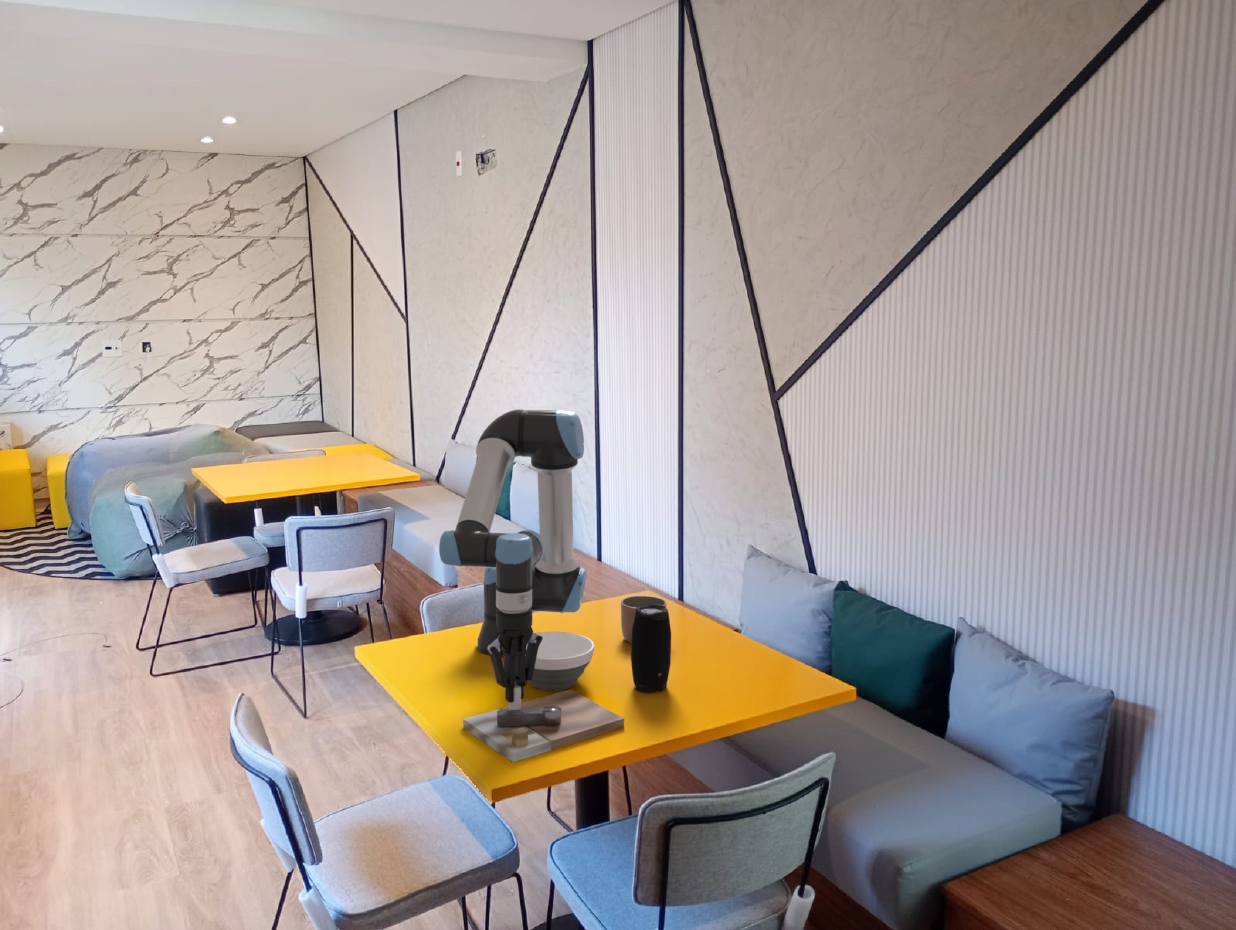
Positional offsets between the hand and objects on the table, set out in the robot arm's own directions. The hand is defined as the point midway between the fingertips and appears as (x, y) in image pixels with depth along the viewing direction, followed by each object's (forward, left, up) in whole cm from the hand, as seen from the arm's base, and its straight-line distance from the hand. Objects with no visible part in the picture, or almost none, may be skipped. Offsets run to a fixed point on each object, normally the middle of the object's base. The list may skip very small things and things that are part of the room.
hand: (514, 714), depth 206 cm
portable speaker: (-1, +38, -3) cm, 38 cm away
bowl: (-17, +21, -3) cm, 27 cm away
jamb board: (+3, +5, -3) cm, 7 cm away
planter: (-28, +58, -3) cm, 65 cm away
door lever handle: (+4, +1, -1) cm, 4 cm away
